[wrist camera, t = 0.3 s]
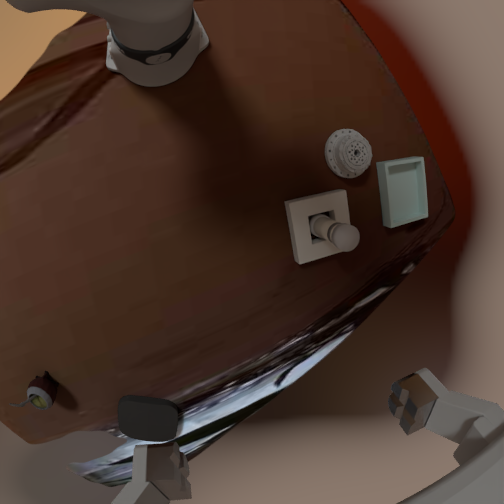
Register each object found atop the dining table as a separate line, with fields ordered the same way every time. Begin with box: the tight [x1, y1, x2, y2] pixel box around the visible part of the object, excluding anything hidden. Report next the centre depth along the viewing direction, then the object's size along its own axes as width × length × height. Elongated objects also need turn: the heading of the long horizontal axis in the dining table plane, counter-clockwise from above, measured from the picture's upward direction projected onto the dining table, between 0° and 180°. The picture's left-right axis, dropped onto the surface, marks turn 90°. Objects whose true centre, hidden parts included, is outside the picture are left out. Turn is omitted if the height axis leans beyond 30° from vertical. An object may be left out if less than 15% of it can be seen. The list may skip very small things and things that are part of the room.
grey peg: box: [309, 213, 360, 252], centre depth 54 cm, size 4×4×12 cm
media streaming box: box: [118, 395, 178, 442], centre depth 62 cm, size 15×15×3 cm
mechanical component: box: [325, 129, 373, 178], centre depth 55 cm, size 10×4×10 cm
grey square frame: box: [284, 189, 350, 264], centre depth 58 cm, size 12×12×2 cm
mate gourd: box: [9, 371, 59, 410], centre depth 47 cm, size 8×8×15 cm
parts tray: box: [376, 157, 428, 228], centre depth 60 cm, size 14×12×3 cm
